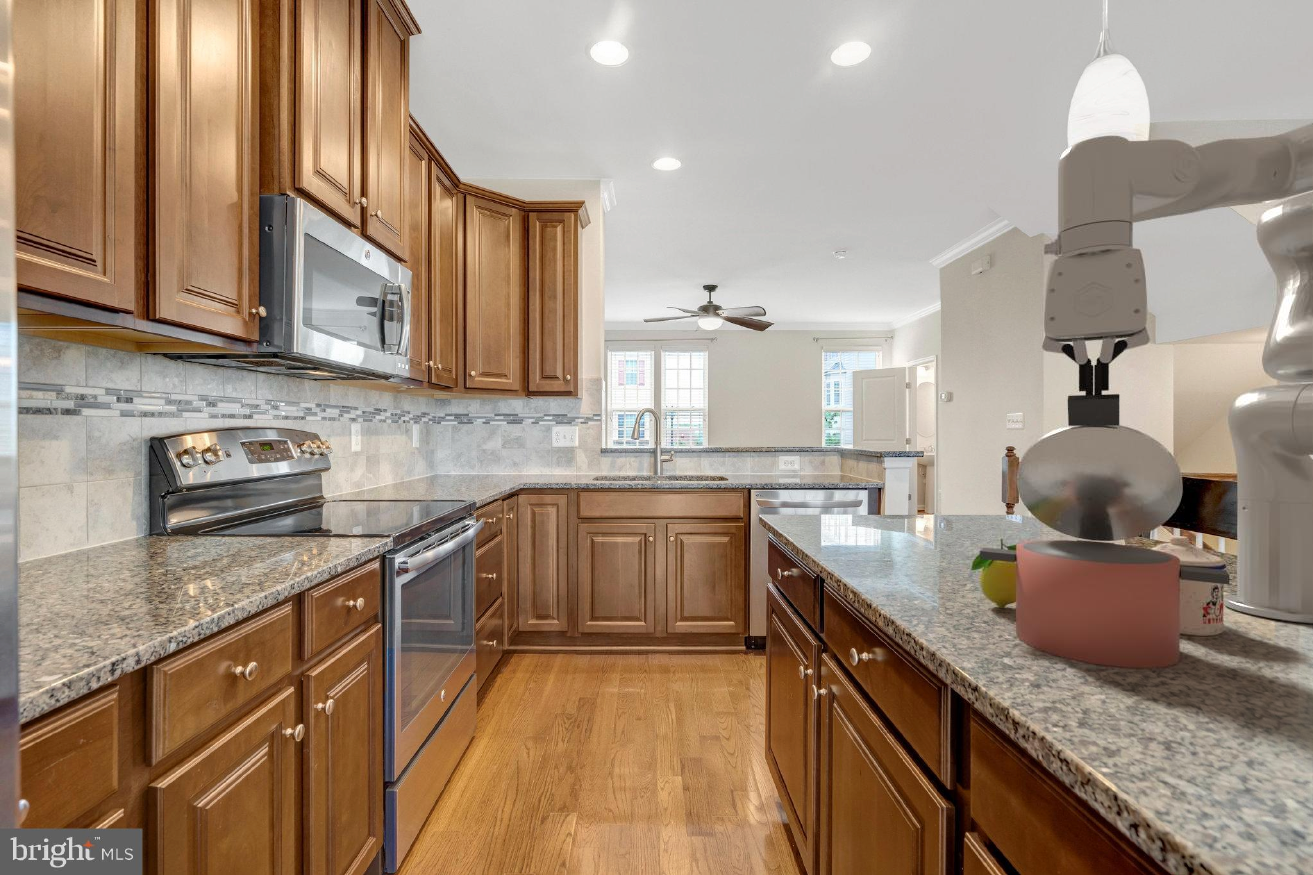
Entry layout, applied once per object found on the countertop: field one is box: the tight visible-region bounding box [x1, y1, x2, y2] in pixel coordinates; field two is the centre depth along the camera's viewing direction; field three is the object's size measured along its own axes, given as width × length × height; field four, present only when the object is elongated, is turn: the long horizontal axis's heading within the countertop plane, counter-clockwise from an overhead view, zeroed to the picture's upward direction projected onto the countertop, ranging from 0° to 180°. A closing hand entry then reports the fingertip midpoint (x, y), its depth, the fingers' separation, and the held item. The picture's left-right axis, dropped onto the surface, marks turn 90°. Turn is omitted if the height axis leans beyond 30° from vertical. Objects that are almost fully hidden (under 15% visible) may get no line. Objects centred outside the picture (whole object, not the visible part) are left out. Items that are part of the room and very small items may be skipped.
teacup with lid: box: [1150, 535, 1227, 637], centre depth 83 cm, size 12×9×12 cm
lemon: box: [970, 538, 1017, 609], centre depth 91 cm, size 7×6×10 cm
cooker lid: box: [1016, 393, 1184, 542], centre depth 79 cm, size 21×17×2 cm
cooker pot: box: [979, 539, 1230, 669], centre depth 76 cm, size 17×24×11 cm
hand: (1093, 397), depth 77 cm, fingers closed
